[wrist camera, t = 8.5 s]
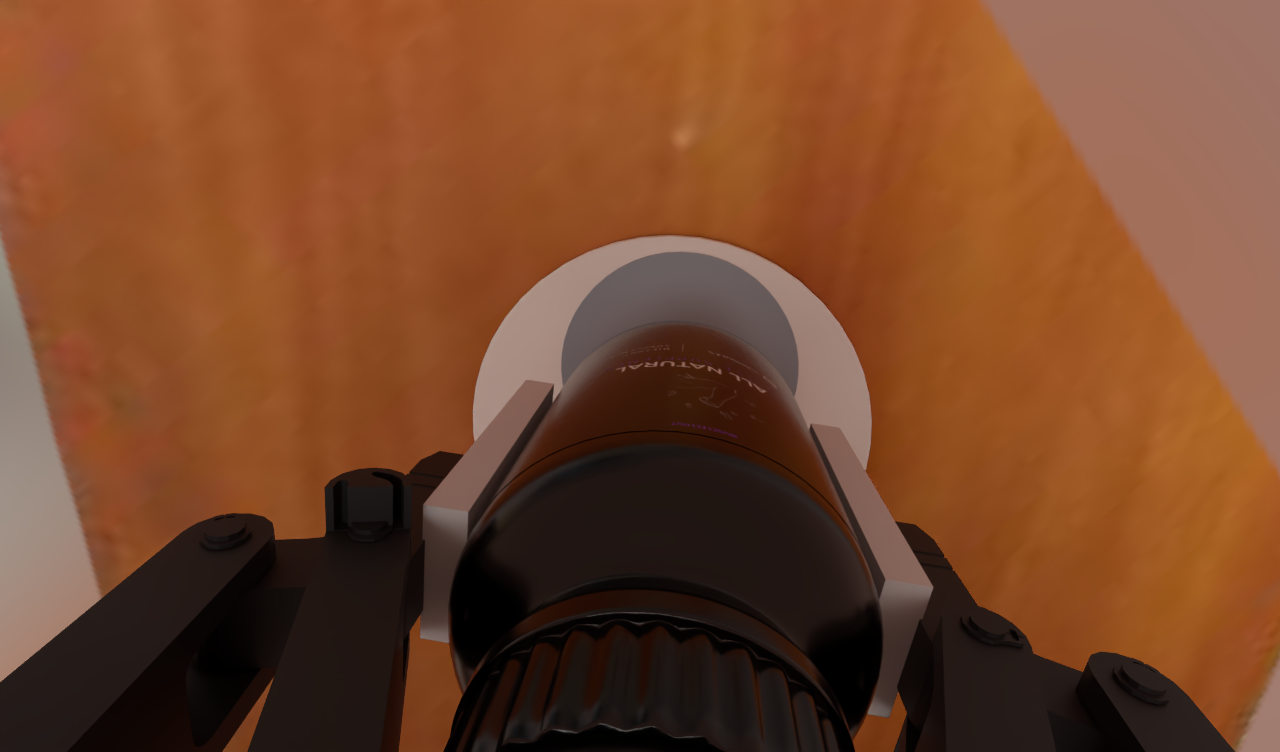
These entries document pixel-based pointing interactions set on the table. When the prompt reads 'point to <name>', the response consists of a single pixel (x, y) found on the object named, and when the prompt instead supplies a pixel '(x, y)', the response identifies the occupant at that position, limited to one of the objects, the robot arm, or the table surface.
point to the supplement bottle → (665, 568)
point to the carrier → (678, 291)
